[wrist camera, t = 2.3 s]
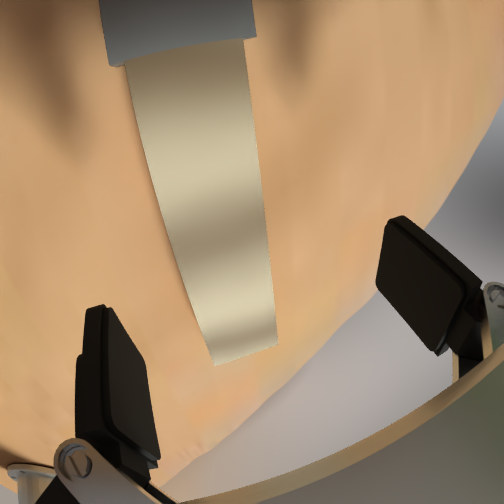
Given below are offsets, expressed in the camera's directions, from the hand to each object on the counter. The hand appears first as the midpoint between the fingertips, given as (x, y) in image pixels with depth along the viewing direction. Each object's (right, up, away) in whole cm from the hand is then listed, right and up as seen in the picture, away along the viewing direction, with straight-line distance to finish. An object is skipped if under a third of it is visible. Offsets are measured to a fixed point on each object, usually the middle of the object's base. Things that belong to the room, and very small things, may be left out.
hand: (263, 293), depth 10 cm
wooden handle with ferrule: (-3, +6, +4) cm, 7 cm away
